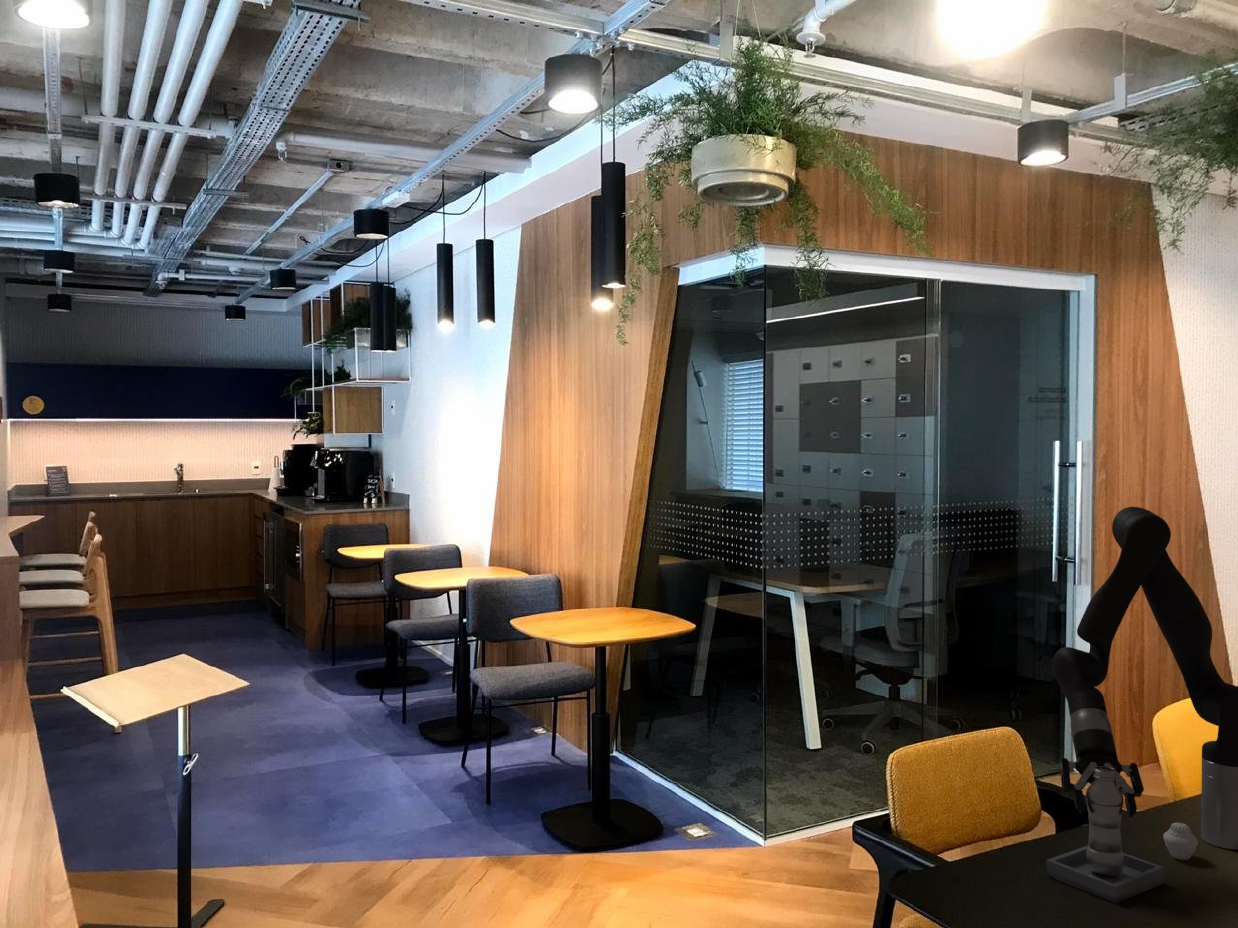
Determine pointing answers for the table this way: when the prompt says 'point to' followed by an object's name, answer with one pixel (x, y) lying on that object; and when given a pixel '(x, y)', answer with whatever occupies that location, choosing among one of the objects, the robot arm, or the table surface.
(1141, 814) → the table surface
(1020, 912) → the table surface
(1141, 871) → the tray
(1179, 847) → the muffin
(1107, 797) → the plastic bottle
